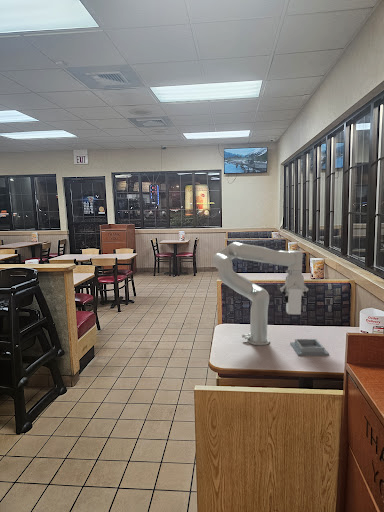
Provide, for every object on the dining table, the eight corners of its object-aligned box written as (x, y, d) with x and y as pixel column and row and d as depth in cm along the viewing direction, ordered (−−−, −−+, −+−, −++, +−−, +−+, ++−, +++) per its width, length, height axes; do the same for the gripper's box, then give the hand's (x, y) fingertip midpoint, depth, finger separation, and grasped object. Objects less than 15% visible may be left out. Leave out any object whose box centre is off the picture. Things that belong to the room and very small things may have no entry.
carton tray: (298, 355, 185) (298, 349, 184) (290, 344, 200) (290, 338, 199) (329, 355, 185) (329, 349, 184) (318, 343, 200) (318, 337, 199)
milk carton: (298, 310, 210) (299, 279, 207) (300, 314, 203) (302, 282, 200) (286, 310, 210) (287, 279, 207) (288, 314, 203) (289, 282, 200)
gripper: (281, 273, 199) (280, 304, 202) (312, 273, 199) (310, 303, 202) (278, 271, 206) (277, 300, 209) (307, 270, 206) (306, 300, 209)
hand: (293, 302), depth 205 cm, fingers closed on milk carton, 7 cm apart
